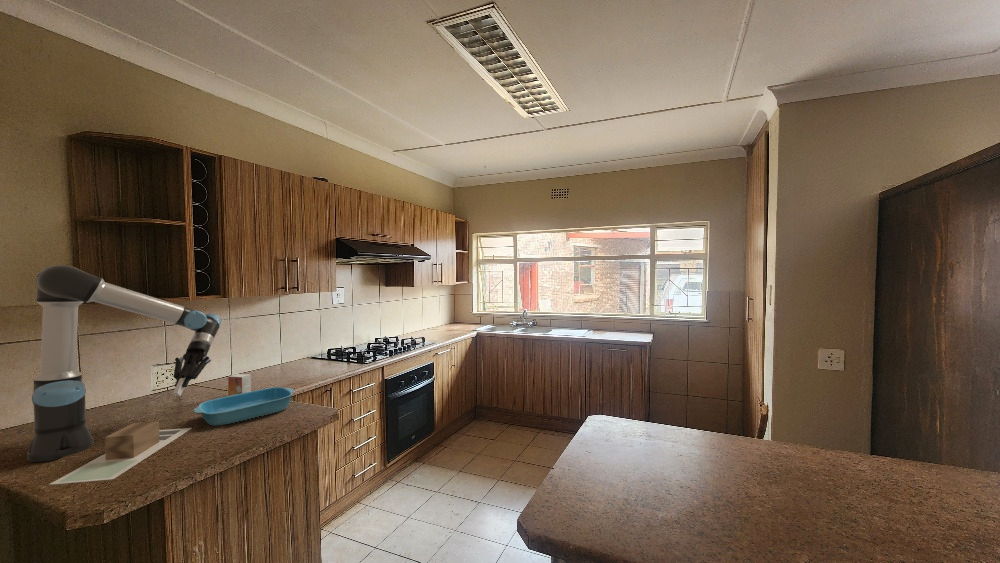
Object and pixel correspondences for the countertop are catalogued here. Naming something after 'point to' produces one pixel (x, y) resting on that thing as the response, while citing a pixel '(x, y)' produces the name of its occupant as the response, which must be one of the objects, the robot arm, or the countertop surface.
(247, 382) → the small box
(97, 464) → the board
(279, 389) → the casserole dish
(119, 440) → the walnut block
